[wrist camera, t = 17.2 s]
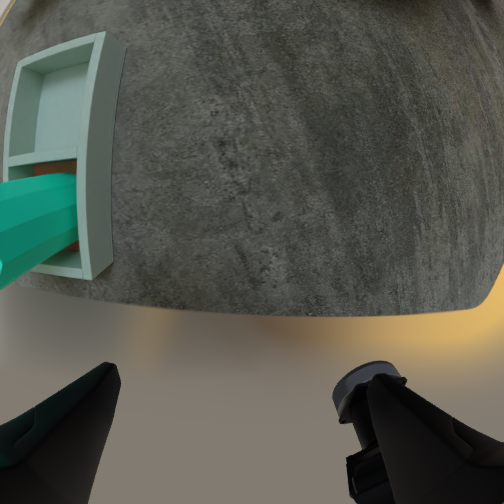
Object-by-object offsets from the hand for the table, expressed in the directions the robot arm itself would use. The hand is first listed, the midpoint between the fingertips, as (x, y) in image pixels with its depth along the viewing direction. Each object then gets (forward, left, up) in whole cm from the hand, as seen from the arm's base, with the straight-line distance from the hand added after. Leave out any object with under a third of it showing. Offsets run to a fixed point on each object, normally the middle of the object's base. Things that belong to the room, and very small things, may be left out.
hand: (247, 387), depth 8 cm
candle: (+3, +15, -13) cm, 20 cm away
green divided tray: (+7, +15, -13) cm, 21 cm away
